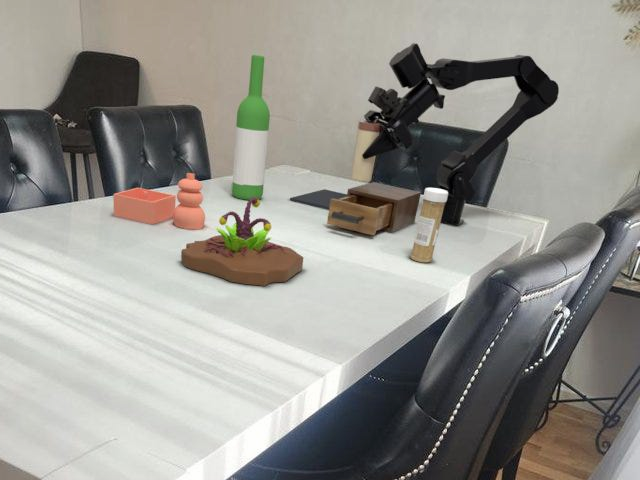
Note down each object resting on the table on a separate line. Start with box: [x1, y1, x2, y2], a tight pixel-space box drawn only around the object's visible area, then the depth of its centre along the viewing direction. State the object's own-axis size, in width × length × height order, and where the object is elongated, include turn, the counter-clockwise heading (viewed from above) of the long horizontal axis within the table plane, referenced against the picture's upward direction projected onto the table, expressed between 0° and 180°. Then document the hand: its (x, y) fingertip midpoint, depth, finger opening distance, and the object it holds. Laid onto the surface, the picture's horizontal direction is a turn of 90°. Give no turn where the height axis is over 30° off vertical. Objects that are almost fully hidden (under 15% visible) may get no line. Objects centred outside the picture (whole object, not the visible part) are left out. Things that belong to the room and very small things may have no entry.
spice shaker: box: [350, 120, 381, 182], centre depth 151 cm, size 5×5×12 cm
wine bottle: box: [231, 54, 271, 201], centre depth 154 cm, size 8×8×30 cm
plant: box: [180, 197, 304, 287], centre depth 112 cm, size 20×20×11 cm
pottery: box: [112, 172, 206, 230], centre depth 132 cm, size 18×10×10 cm, turn 70°
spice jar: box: [410, 187, 448, 264], centre depth 128 cm, size 5×5×14 cm
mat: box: [289, 188, 347, 211], centre depth 169 cm, size 20×20×1 cm
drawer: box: [326, 194, 394, 236], centre depth 145 cm, size 19×11×5 cm, turn 150°
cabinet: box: [346, 181, 422, 234], centre depth 155 cm, size 16×13×7 cm
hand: (359, 155), depth 151 cm, fingers closed on spice shaker, 5 cm apart
